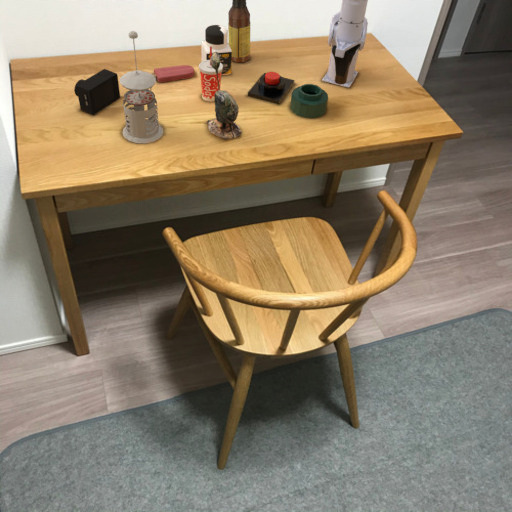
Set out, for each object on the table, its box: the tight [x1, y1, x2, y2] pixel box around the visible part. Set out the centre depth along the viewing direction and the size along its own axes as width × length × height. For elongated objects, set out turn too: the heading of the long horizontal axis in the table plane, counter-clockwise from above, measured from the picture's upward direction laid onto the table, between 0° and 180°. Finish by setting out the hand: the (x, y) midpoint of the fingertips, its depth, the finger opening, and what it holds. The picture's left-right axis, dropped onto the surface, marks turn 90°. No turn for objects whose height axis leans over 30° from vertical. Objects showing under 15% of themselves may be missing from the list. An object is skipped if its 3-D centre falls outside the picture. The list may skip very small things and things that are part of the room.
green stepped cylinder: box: [289, 83, 329, 119], centre depth 147 cm, size 9×9×6 cm
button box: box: [247, 72, 296, 105], centre depth 153 cm, size 12×9×3 cm
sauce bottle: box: [227, 0, 251, 63], centre depth 158 cm, size 7×6×20 cm
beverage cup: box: [198, 46, 223, 103], centre depth 145 cm, size 6×6×14 cm
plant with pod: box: [206, 52, 243, 140], centre depth 132 cm, size 8×11×20 cm
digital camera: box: [73, 68, 121, 116], centre depth 142 cm, size 10×5×7 cm, turn 149°
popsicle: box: [153, 64, 195, 83], centre depth 155 cm, size 5×2×15 cm
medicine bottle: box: [200, 24, 233, 76], centre depth 156 cm, size 7×7×12 cm
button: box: [265, 71, 281, 85], centre depth 152 cm, size 4×4×2 cm
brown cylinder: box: [335, 63, 350, 84], centre depth 141 cm, size 3×3×7 cm
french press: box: [118, 30, 164, 144], centre depth 129 cm, size 10×12×25 cm
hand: (341, 72), depth 142 cm, fingers closed on brown cylinder, 3 cm apart
